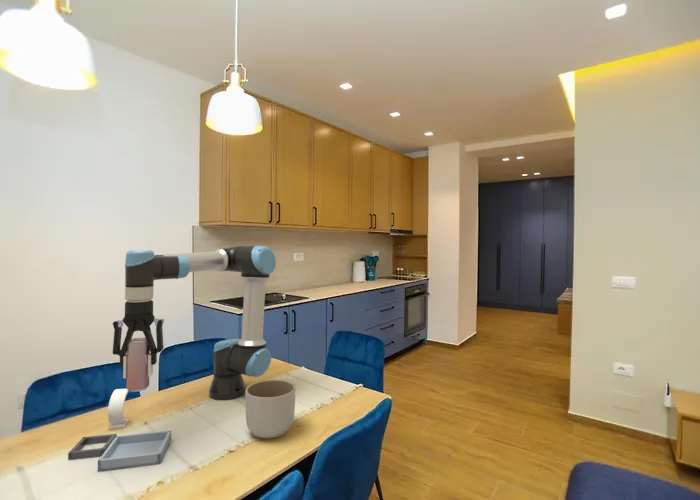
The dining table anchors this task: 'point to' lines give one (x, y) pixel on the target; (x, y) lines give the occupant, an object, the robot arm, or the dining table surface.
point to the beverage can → (137, 364)
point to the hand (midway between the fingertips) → (138, 375)
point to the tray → (135, 450)
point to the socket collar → (79, 454)
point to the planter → (270, 407)
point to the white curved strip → (117, 409)
